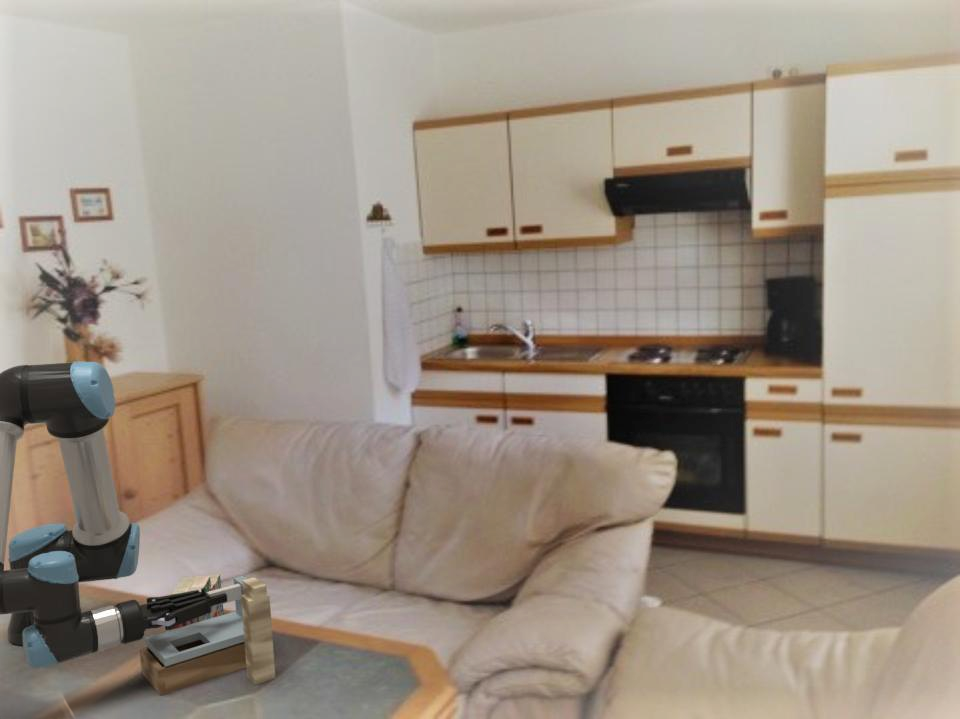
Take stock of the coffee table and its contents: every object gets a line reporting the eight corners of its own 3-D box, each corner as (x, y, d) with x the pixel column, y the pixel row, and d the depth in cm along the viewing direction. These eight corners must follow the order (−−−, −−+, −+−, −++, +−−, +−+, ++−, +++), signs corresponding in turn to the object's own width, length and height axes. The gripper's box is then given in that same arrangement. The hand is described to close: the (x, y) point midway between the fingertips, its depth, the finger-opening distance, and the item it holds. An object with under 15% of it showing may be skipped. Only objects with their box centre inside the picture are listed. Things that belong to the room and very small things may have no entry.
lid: (146, 645, 165) (142, 600, 164) (244, 615, 177) (240, 574, 176) (165, 666, 156) (161, 619, 155) (267, 634, 168) (264, 590, 167)
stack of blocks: (196, 614, 195) (192, 562, 193) (224, 612, 195) (220, 561, 194) (170, 657, 173) (165, 599, 172) (202, 654, 174) (197, 597, 172)
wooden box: (142, 676, 165) (139, 648, 165) (240, 644, 177) (238, 619, 177) (161, 699, 156) (158, 670, 155) (263, 664, 168) (261, 638, 167)
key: (245, 679, 162) (238, 581, 160) (265, 672, 165) (258, 576, 162) (257, 690, 158) (249, 589, 156) (277, 683, 160) (270, 584, 158)
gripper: (110, 632, 163) (229, 599, 177) (129, 655, 152) (254, 618, 166) (107, 595, 162) (227, 564, 176) (125, 616, 152) (251, 582, 166)
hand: (240, 591), depth 171 cm, fingers closed
